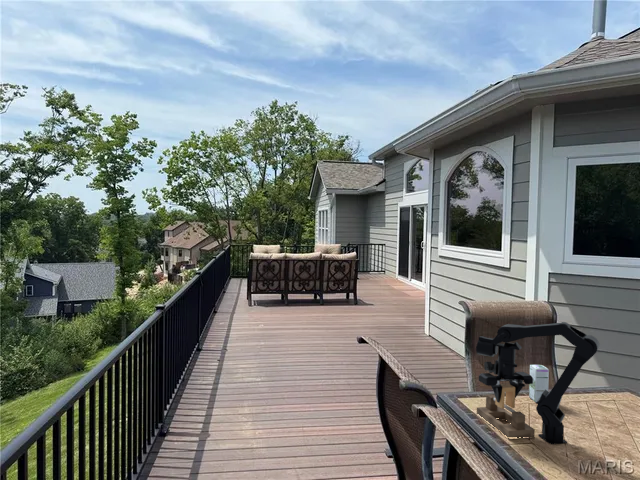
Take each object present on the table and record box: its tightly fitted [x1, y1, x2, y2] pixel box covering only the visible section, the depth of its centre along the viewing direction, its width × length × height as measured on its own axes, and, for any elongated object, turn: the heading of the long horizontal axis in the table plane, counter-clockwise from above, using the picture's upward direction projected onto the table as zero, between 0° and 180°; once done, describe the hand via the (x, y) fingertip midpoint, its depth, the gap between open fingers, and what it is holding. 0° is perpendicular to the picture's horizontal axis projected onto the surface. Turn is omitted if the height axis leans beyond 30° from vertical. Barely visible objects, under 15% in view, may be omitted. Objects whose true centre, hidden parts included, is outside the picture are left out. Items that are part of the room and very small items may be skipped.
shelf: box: [476, 393, 536, 438], centre depth 158 cm, size 20×10×8 cm, turn 11°
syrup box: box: [528, 364, 550, 403], centre depth 184 cm, size 6×6×14 cm
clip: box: [495, 383, 516, 409], centre depth 158 cm, size 4×5×8 cm
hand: (504, 401), depth 158 cm, fingers closed on clip, 5 cm apart
